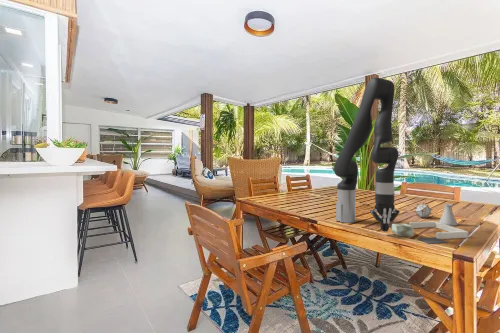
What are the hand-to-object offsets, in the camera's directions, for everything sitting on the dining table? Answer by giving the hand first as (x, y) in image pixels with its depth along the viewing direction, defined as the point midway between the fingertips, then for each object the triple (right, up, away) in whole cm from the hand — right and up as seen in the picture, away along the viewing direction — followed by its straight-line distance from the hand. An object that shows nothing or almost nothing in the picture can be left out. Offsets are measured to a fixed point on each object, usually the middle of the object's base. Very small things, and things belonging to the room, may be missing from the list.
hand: (384, 231), depth 111 cm
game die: (+36, 0, +28) cm, 46 cm away
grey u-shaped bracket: (+24, -1, +2) cm, 24 cm away
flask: (+39, 0, +14) cm, 42 cm away
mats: (+14, -1, +1) cm, 14 cm away
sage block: (+8, -2, +1) cm, 8 cm away
